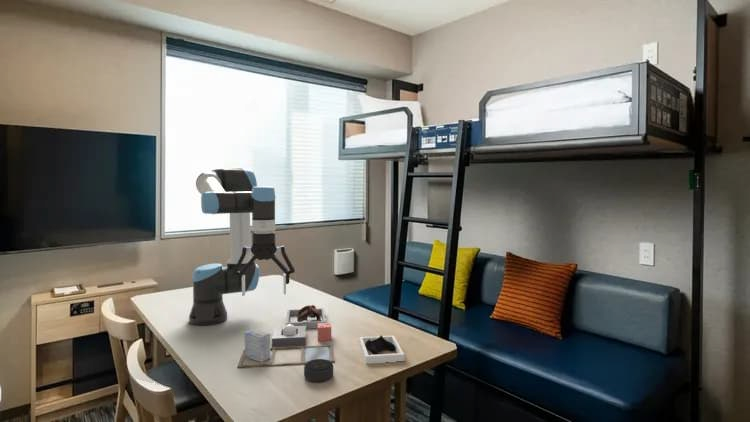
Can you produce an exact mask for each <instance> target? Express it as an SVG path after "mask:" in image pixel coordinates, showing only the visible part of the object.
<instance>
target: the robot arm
mask: <svg viewBox="0 0 750 422" xmlns="http://www.w3.org/2000/svg"><path fill="white" fill-rule="evenodd" d="M255 174H256V173H254V171H253V170H252V169H250V168H243V167H240V168H239V167H237V168H234V167H233V168H231V167H227V168H224V167H216V168H209V169H207V170H205V171H203V172H201V173H200V174H199V175H198V176H197V178H196V181H195V187H196V190H197V191H198V193H199V194H200V195H201V197H200V206H201V207H200V208H201V212H202V213H203V214H205V215H207V214H208V215H218V214H219V215H220V214H221V215H223V214H229V243H230V244H229V246H230V249H229V251H230V258H229V260H227V263H226V266H223V264H222V263H218V262H217V263H209V264H205V265H201V266H198V267H196V268H195V269H194V270H193V272H192V297H193V300H192V301H193V303H192V307H191V309H190V312H189V316H188V322H189V324H191V325H194V326H212V325H216V324H217V325H218V324H220V323H222V322H225V321H226V320H227V319H228V312H227V309H226V305H225V303H224V299H223V295H225V294H226V295H227V294H236V293H241V297H245V295H246V293H247V292H252V291H255V290H256V289H257V287H258V284H259V281H260V267H259V265H258V264H257V263H256V260H258V261H263V260H266V261H269V260H272V261H273V262H274V263H275V264H276V266H278V268H280V270H282V272H283V295H287V285H289V284H290V275H291V274H294V273H295V267H294V266H293V264H292V262H291V260H290V258H289V256H288V254H287V253H286V248H285V245H281V246H277V245H276V233H275V232H276V193H275V192H276V191H275V190H276V189H275V187H274V186H258V184H257V183H258V182H257V179H256V175H255ZM251 217H252V218H251ZM251 231H252V232H253V233H252V234H251ZM251 236H252V237H251ZM277 251H278V252H279V253H280V254H281V256H282V257H283V260H284V262H285V263H286V265H287V267H288V268H287V267H286V266H285V265H284V263H282V261H281V260H280V259H279V258H278V257H277V255H275V253H276V252H277ZM252 254H253V255H252Z"/></svg>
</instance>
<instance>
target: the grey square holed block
mask: <svg viewBox="0 0 750 422" xmlns="http://www.w3.org/2000/svg"><path fill="white" fill-rule="evenodd" d="M284 327H285V326H274V327H273V332H272V336H271V348H278V347H297V346H307V345H306V342H307V341H306V339H307V329H306V326H295V327H296V334H295V335H283V328H284Z"/></svg>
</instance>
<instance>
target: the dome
mask: <svg viewBox="0 0 750 422" xmlns="http://www.w3.org/2000/svg"><path fill="white" fill-rule="evenodd" d="M283 327H284V328H283V335H295V334H296V327H295V326H294V325H292V324H288V325H286V324H285V325H284V326H283Z"/></svg>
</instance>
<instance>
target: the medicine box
mask: <svg viewBox="0 0 750 422" xmlns="http://www.w3.org/2000/svg"><path fill="white" fill-rule="evenodd" d="M270 348H271V334H270V333H268V332H265V331H262V330H258V329H256V328H255V329H251V330H248V331H246V332H244V349H245V357H244V358H246V359H250V360H252V361H255V362H258V363H264V362H266V361H267V360H269V359H270V360H271V350H270Z"/></svg>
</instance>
